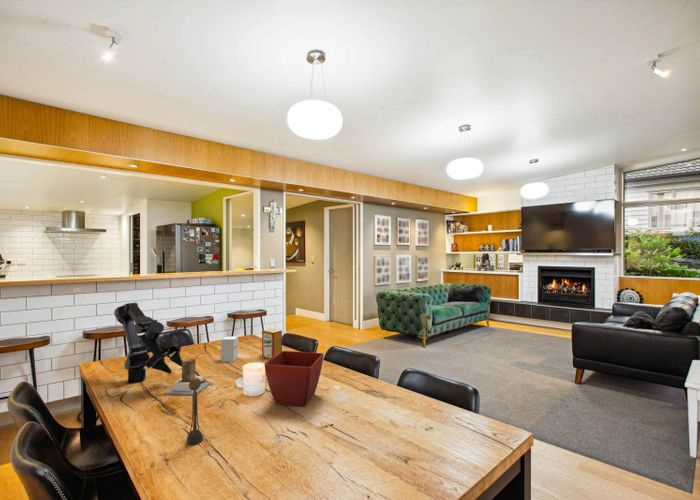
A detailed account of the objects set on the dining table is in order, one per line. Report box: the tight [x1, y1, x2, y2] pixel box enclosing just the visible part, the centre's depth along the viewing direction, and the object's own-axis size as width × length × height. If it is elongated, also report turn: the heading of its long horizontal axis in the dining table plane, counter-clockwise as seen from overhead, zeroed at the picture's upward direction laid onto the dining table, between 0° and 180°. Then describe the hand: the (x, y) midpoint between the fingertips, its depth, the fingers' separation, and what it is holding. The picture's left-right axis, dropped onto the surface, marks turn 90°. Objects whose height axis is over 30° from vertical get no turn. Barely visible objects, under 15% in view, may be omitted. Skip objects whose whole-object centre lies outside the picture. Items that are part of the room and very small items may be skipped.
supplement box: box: [220, 336, 239, 363], centre depth 196 cm, size 7×7×13 cm
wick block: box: [181, 358, 196, 382], centre depth 154 cm, size 4×4×12 cm
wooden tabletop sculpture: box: [185, 378, 207, 446], centre depth 111 cm, size 6×5×20 cm
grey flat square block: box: [163, 375, 212, 396], centre depth 154 cm, size 14×14×4 cm
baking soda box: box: [261, 328, 283, 361], centre depth 200 cm, size 10×6×16 cm
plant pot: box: [264, 350, 324, 407], centre depth 142 cm, size 19×19×17 cm
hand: (177, 369), depth 155 cm, fingers open, 9 cm apart
